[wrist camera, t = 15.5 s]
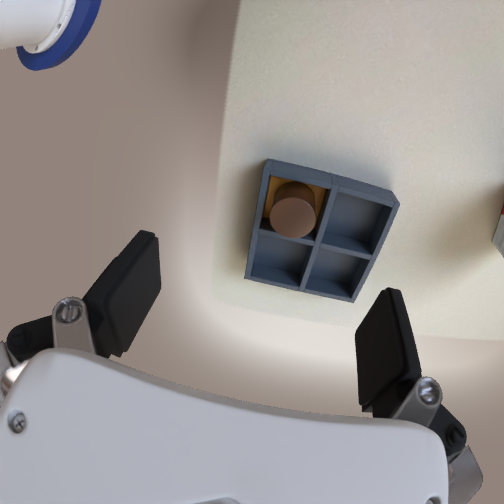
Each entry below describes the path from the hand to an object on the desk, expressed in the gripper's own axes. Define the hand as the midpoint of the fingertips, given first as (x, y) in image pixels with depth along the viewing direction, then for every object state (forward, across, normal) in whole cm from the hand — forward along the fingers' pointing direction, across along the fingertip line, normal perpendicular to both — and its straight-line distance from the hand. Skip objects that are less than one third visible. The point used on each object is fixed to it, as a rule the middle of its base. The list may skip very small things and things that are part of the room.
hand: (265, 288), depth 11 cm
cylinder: (+17, -1, +4) cm, 17 cm away
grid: (+18, -4, +7) cm, 19 cm away
